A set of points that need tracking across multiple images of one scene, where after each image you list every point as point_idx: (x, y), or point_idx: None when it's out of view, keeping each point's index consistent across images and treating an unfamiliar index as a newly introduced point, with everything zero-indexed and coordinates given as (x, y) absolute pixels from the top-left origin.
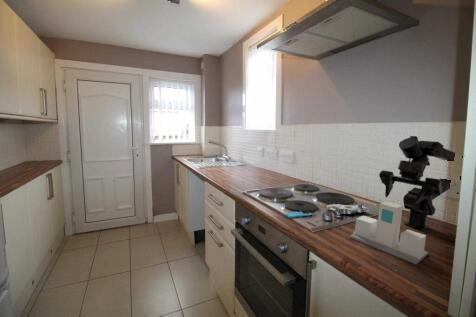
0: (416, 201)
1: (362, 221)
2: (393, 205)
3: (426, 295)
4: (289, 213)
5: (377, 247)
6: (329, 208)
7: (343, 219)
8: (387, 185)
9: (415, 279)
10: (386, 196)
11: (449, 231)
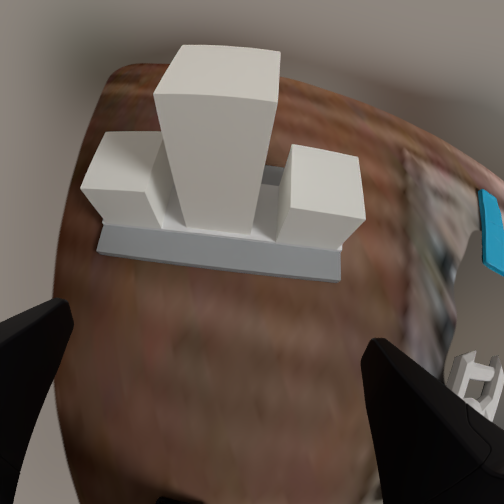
0: (46, 302)
1: (328, 154)
2: (207, 60)
3: (124, 83)
4: (497, 209)
5: None
6: (493, 368)
7: (432, 332)
8: (473, 429)
9: (136, 105)
10: (367, 346)
11: None
